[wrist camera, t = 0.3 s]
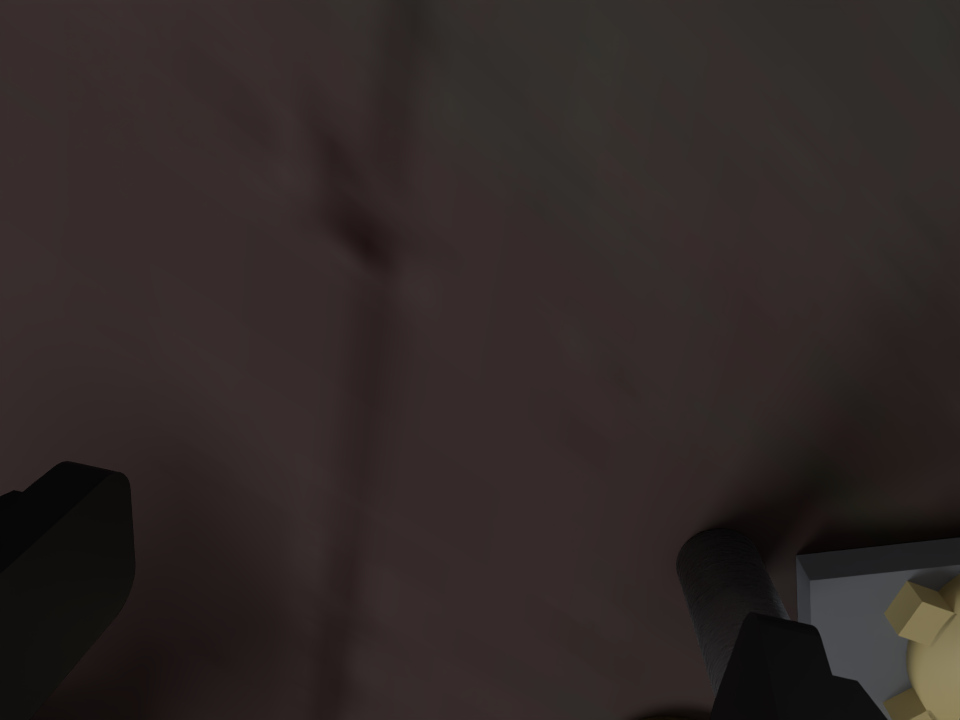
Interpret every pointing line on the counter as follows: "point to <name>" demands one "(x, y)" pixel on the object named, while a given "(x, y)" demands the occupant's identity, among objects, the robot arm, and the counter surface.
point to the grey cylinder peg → (724, 592)
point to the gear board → (890, 622)
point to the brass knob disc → (666, 718)
